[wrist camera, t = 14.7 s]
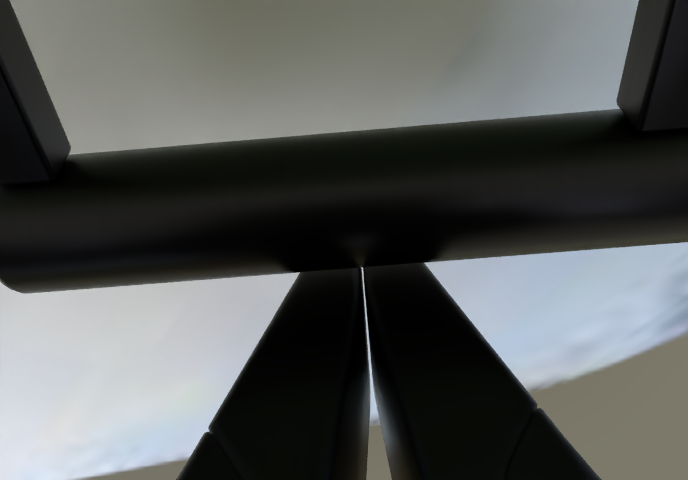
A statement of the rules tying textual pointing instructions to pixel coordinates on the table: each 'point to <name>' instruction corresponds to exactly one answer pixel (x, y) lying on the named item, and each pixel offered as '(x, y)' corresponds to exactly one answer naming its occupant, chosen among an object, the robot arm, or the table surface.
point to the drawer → (344, 185)
